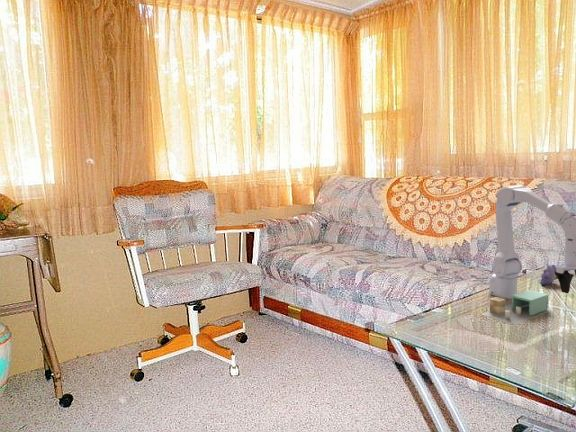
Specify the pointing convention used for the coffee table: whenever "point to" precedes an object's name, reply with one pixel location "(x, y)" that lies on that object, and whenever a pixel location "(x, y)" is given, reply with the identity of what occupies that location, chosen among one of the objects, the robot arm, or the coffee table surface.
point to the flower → (548, 275)
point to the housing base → (514, 315)
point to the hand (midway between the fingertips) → (572, 290)
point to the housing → (530, 301)
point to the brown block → (497, 305)
